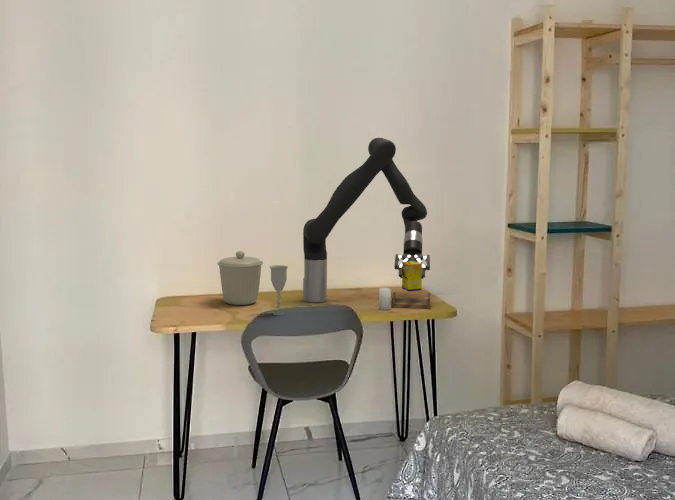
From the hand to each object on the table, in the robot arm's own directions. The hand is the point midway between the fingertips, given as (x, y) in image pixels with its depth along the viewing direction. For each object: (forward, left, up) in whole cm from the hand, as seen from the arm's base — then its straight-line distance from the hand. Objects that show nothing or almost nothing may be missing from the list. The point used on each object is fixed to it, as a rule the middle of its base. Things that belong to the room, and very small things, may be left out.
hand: (411, 277), depth 300 cm
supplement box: (0, +1, -5) cm, 6 cm away
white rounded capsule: (-10, -7, -12) cm, 17 cm away
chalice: (-49, -22, -12) cm, 55 cm away
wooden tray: (0, +1, -12) cm, 12 cm away
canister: (-68, -5, -12) cm, 69 cm away
